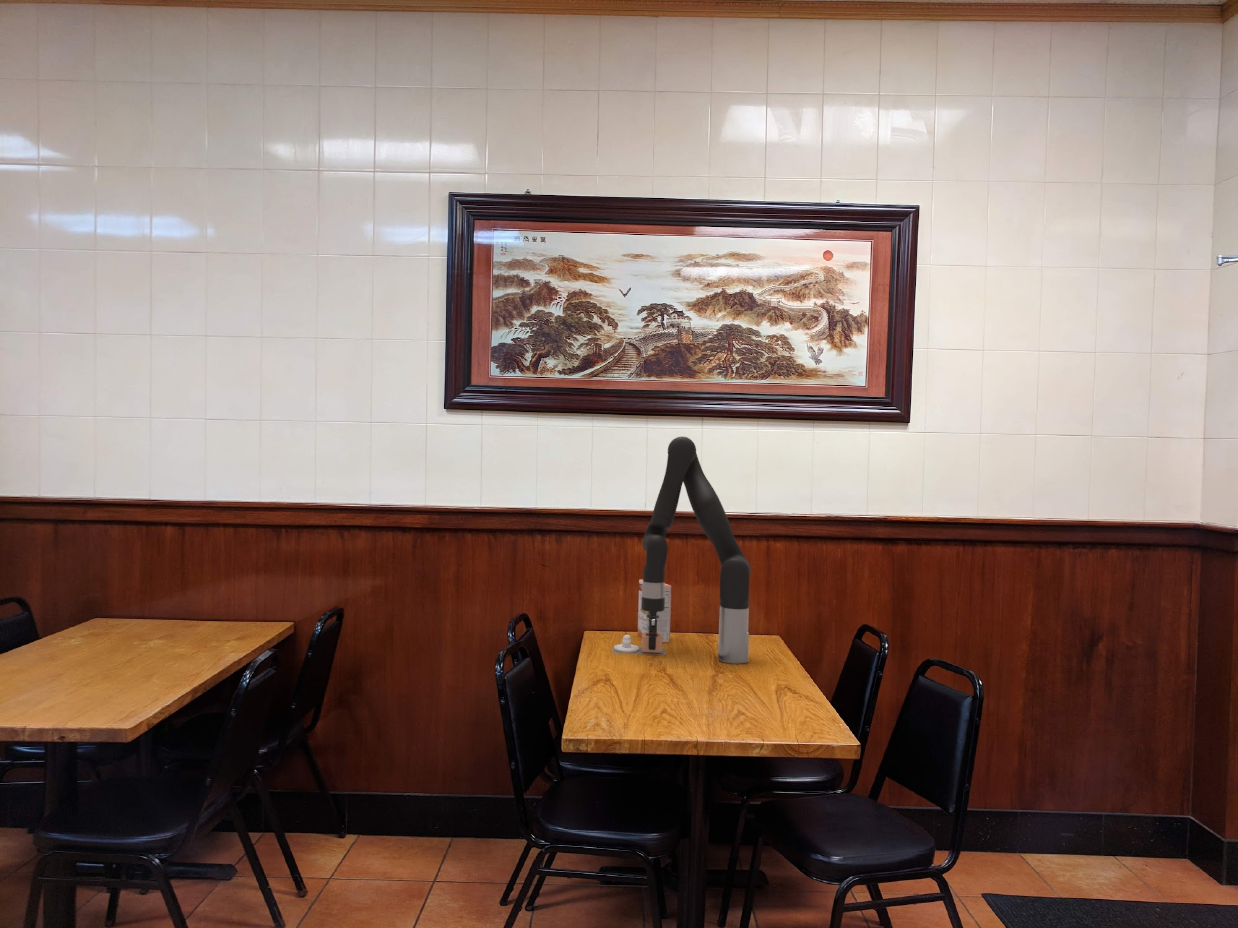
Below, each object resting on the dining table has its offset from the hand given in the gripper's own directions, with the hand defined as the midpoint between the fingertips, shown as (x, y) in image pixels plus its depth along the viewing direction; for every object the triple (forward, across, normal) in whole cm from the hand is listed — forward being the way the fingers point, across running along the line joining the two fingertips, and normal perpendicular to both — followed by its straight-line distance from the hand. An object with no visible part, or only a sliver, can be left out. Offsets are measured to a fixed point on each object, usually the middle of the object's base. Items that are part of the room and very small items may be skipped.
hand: (651, 646), depth 263 cm
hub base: (+3, 0, +4) cm, 5 cm away
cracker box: (+3, +19, -1) cm, 19 cm away
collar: (+1, 0, 0) cm, 1 cm away
